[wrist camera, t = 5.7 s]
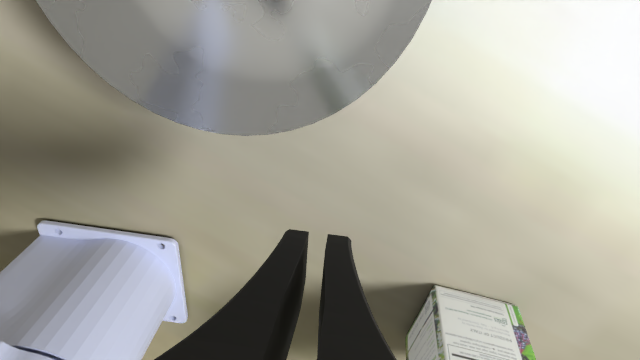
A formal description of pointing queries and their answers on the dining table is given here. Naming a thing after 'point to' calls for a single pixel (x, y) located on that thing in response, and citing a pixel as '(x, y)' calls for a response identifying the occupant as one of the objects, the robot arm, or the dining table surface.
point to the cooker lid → (239, 55)
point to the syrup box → (467, 329)
